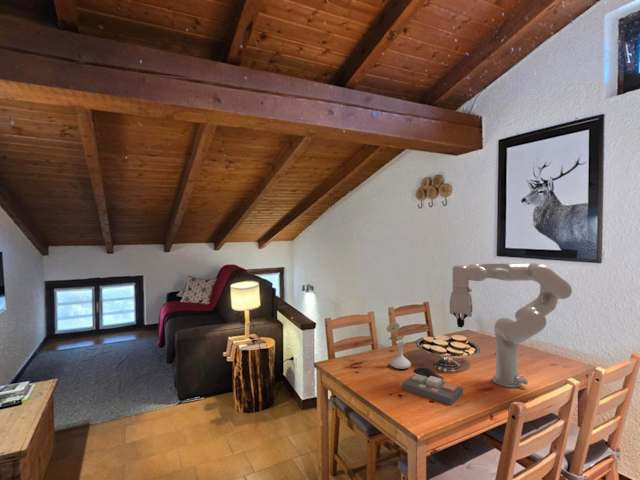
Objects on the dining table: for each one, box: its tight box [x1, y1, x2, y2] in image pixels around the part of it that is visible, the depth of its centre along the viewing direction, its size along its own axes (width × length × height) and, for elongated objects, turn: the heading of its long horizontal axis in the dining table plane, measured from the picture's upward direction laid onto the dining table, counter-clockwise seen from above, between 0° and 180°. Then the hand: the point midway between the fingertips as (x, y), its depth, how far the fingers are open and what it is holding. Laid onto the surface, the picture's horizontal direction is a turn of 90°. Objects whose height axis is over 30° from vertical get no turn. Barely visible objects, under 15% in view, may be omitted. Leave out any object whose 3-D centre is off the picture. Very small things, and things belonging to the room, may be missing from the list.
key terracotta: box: [442, 382, 459, 393], centre depth 158 cm, size 5×5×3 cm
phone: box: [413, 367, 444, 381], centre depth 180 cm, size 8×1×15 cm
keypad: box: [402, 373, 464, 406], centre depth 161 cm, size 23×14×3 cm, turn 48°
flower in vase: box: [386, 321, 412, 370], centre depth 191 cm, size 13×11×25 cm
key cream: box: [426, 376, 443, 388], centre depth 163 cm, size 5×5×3 cm
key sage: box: [411, 373, 427, 383], centre depth 168 cm, size 5×5×3 cm
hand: (460, 326), depth 173 cm, fingers closed
